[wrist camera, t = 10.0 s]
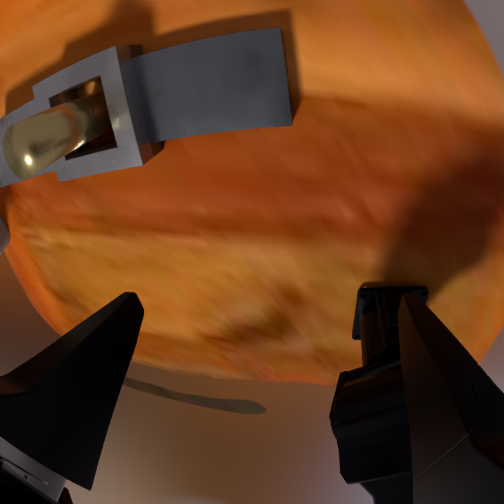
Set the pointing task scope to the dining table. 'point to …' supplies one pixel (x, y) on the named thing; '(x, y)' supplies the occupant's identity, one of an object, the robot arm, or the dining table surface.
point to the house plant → (3, 236)
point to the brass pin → (55, 133)
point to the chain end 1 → (119, 107)
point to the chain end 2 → (210, 86)
